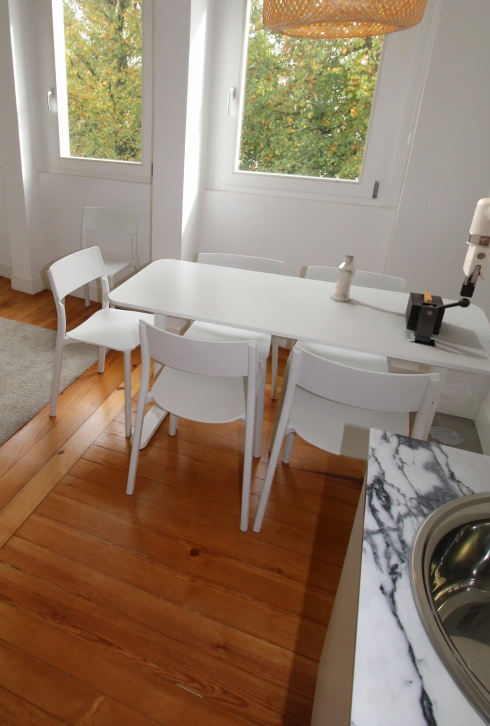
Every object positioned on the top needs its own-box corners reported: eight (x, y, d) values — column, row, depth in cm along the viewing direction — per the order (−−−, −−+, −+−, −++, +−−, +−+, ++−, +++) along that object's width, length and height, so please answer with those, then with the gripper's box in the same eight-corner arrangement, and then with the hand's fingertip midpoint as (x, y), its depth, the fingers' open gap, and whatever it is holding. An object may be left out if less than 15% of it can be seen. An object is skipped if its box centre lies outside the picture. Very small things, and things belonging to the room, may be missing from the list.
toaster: (434, 324, 174) (441, 296, 170) (437, 338, 162) (445, 309, 158) (403, 319, 178) (410, 292, 174) (405, 333, 166) (412, 304, 162)
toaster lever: (470, 304, 150) (468, 295, 150) (472, 307, 148) (469, 298, 147) (425, 313, 157) (422, 304, 156) (425, 316, 154) (423, 308, 154)
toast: (423, 316, 173) (429, 291, 169) (425, 326, 164) (432, 300, 160) (418, 315, 173) (425, 290, 169) (420, 325, 165) (427, 299, 161)
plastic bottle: (351, 304, 191) (362, 258, 183) (338, 307, 189) (349, 260, 180) (340, 298, 197) (350, 253, 188) (327, 300, 194) (337, 254, 186)
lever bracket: (433, 340, 161) (442, 303, 156) (435, 349, 154) (445, 311, 149) (407, 335, 164) (415, 299, 159) (407, 344, 157) (417, 306, 152)
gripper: (502, 247, 134) (483, 306, 141) (492, 236, 147) (475, 291, 154) (471, 243, 137) (454, 301, 144) (464, 233, 150) (449, 287, 157)
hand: (465, 296), depth 149 cm, fingers closed
